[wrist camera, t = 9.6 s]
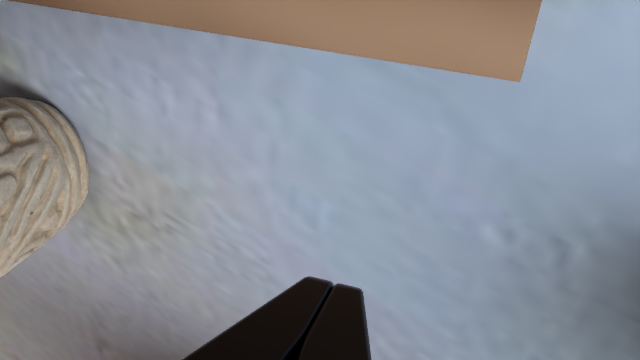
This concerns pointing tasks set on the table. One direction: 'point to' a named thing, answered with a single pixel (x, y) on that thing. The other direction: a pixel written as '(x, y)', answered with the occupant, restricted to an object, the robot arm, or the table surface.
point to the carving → (36, 177)
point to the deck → (356, 27)
